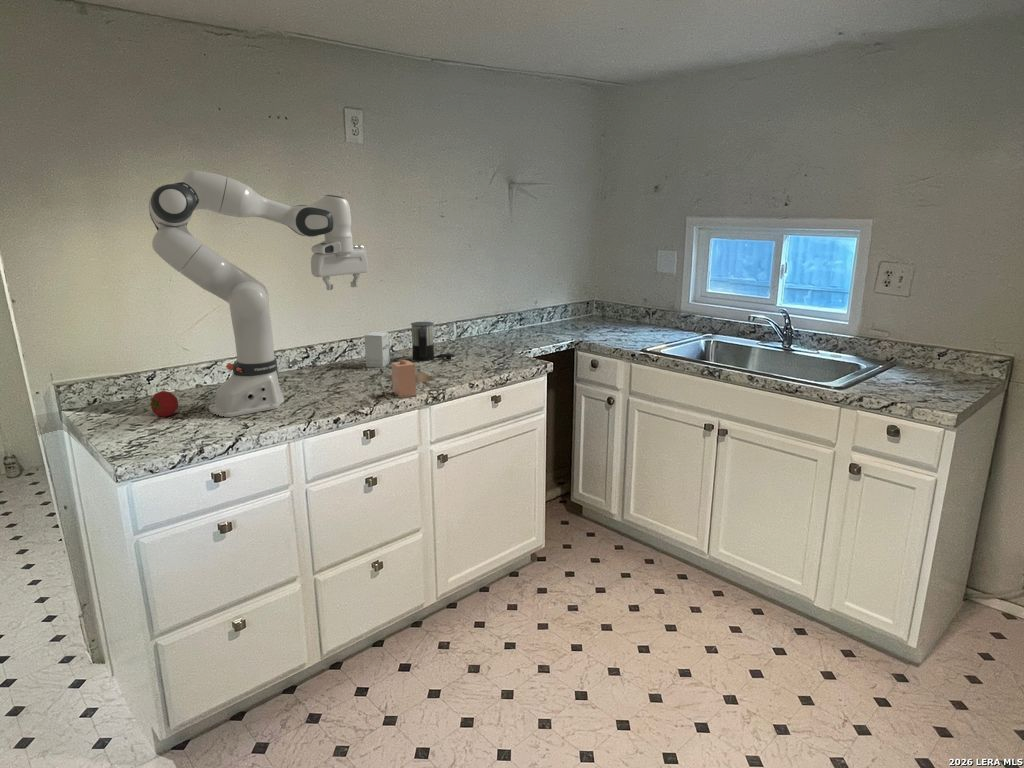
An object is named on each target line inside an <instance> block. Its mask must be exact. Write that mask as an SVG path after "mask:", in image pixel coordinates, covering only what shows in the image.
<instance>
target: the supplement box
mask: <svg viewBox="0 0 1024 768" xmlns="http://www.w3.org/2000/svg"><path fill="white" fill-rule="evenodd" d="M389 336H390V335H389V332H387V331H384V332H383V331H370V332H369V333H367V334H364V336H363V337H364V339H363V340H364V352H365V353H364V355H365V357H364V358H365V367H368V368H384V367H387V366H388V365H389V364H390V363H391V359H390V340H389V338H390V337H389Z"/></svg>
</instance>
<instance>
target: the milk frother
mask: <svg viewBox="0 0 1024 768" xmlns="http://www.w3.org/2000/svg"><path fill="white" fill-rule="evenodd" d="M410 325H411V344H412V347H411V348H412V354H411V355H412V358H411V360H412V361H415V362H428V361H432V360H434V359H444V358H446V360H450V359H452V358H453V357H455V354H454V353H451V352H445V353H442V354H441V353H440V354H438V355H435V350H434V327H433V326H434V322H431V321H415V322H411V323H410Z"/></svg>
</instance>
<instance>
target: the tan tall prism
mask: <svg viewBox="0 0 1024 768" xmlns="http://www.w3.org/2000/svg"><path fill="white" fill-rule="evenodd" d="M415 367H416V364H415V363H413V362H411V361H410V360H406V359H400V360H399V361H395V362H391V375H392V380H393V381H392V392H393V393H394V394H395V395H397V396H398V397H397V399H399V400H402V399H403V400H404V399H408V398H409V399H410V398H415V397H417V383H416V378H415Z"/></svg>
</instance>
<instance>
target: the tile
mask: <svg viewBox="0 0 1024 768" xmlns="http://www.w3.org/2000/svg"><path fill="white" fill-rule="evenodd" d="M384 377H385V378H387V379H388V380H390V381H391V382H393V380H392V374H390V375H384ZM417 377H418V378H417V379H416V384H418V383H423V382H425V383H426V382H430V381H431V382H432V381H436V380H437V379H436V378H434V377H432V376H430V375H429V374H426V373H424V372H423V371H422V370H419V371H418V370H417Z"/></svg>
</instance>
